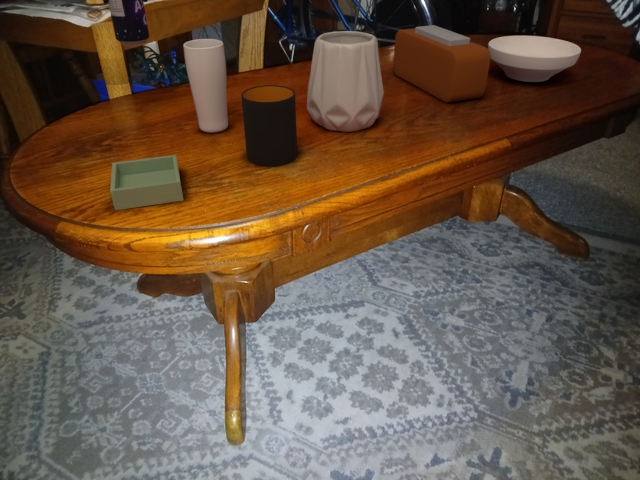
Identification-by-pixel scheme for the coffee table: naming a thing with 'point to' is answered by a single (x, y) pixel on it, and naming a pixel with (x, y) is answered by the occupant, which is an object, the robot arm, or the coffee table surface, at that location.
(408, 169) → the coffee table surface
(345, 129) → the vase
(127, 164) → the tray
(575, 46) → the bowl
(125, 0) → the beverage can
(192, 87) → the drinking glass
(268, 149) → the mug
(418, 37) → the brown rounded block
